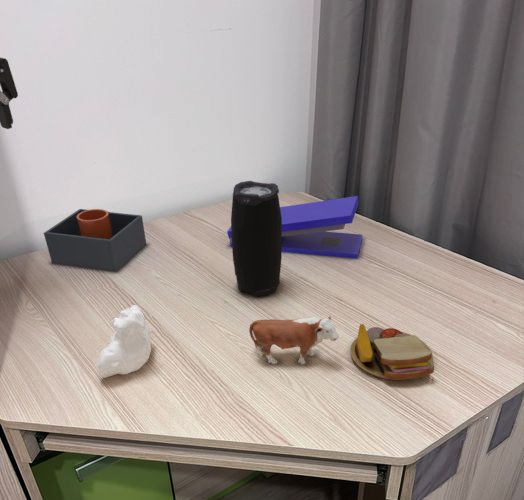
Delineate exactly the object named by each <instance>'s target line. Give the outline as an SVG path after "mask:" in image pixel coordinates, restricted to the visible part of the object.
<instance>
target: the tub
mask: <svg viewBox="0 0 524 500" xmlns="http://www.w3.org/2000/svg"><path fill="white" fill-rule="evenodd" d="M86 210H87V209H83V208H79V209H77V210H76V211H74V212H73V213H72V214H70V215H68V216H67V217H65V218H63V220H61V221H59V222H58V223H56V224H55V225H53V226H52V227H50V228H49V229H47V230H46V231H44V232H43V236H44V239H45V243H46V247H47V250H48V254H49V258H50V261H51V264H53V265H58V266H59V265H61V266H68V267H74V268H75V267H76V268H82V269H89V270H97V271H103V272H111V273H118V272H119V271H120V270H121V269H122V268H124V266H126V265H127V264H128V263H130V261H131V260H132V259H133V258H134V257H135V256H137V254H139V253H140V252H141V251H142V250H143V249H144V248H145V247H146V246H147V239H146V232H145V226H144V221H143V220H144V219H143V215H141V214H132V213H123V212H122V213H121V212H114V211H113V212H112V211H107V212H108V213H109V218H110V223H111V228H112V233H113V237H112V238H111V239H110V240H109V239H101V238H92V237H84V236H81V234H80V230H79V226H78V222H77V215H78V214H79V213H81V212H83V211H86Z"/></svg>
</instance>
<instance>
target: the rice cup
mask: <svg viewBox="0 0 524 500" xmlns="http://www.w3.org/2000/svg"><path fill="white" fill-rule="evenodd" d="M85 210H86V211H83V212H81V213H79V214H78V215H77V222H78V226H79V230H80V234H81V236H84V237H92V238H101V239H109V240H110V239H111V238H112V237H113V233H112V228H111V223H110V218H109V213H108V212H109V211H108V210H107V209H101V208H92V209H85Z"/></svg>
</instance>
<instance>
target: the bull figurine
mask: <svg viewBox="0 0 524 500" xmlns="http://www.w3.org/2000/svg"><path fill="white" fill-rule="evenodd" d="M248 331H249V335H250V338H251V340H252V342H253V344H254V348H255V350H256V352H257V355H258V356H259V357H263V356H265V357H266V359H267V362H268V364H271V365H277V364H278V363H279V361H278V360H277V359H276V358H274V356H273V355H272V351H271V349H272V346H273V345H274V346H277V347H278V348H280V349H281V350H286V349H293V348H299V349H300V350H299V358H298V361H297V362H298V364H300V365H305V364H306V360H305V357H306V356H310V357H313V356H315V352H313V349H312V348H315V347H316V346H317V345H318V344H321V343H322V342H323V340H330V341H331V342H335V341H337V340H338V339H339V337H340V335H339V334H338V333H337V331H336V327H335V324H334V322H333V321H331V315H329V316H328V317H326V318H323V319H321V318H318V317H315V316H310V317H308V318H307V317H302V318H297V319H276V318H275V319H273V318H272V319H257V320H254V321H252V322H251V323H250V326H249V328H248Z"/></svg>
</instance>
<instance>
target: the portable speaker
mask: <svg viewBox="0 0 524 500" xmlns="http://www.w3.org/2000/svg"><path fill="white" fill-rule="evenodd" d="M279 194H280V189H279V185H277V184H276V183H275V182H274V183H272V182H271V183H266V182H257V181H253V180H246V181H240V182H238V183H236V184H235V185H234V187H233V192H232V201H231V212H230V214H231V216H230V227H231V233H232V247H231V248H232V251H231V252H232V263H233V265H234V266H233V268H234V269H233V270H234V275H235V277H236V283H237V290H238V291H239V293H242V292H244V293H248V294H251V295H254V297H257V298H265V297H269V296H272V295H274V294H276V291H277V288H278V287H279V285H280V281H281V280H280V279H281V268H282V257H283V255H282V254H283V252H282V217H281V211H280V207H281V204H280V199H279Z"/></svg>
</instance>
